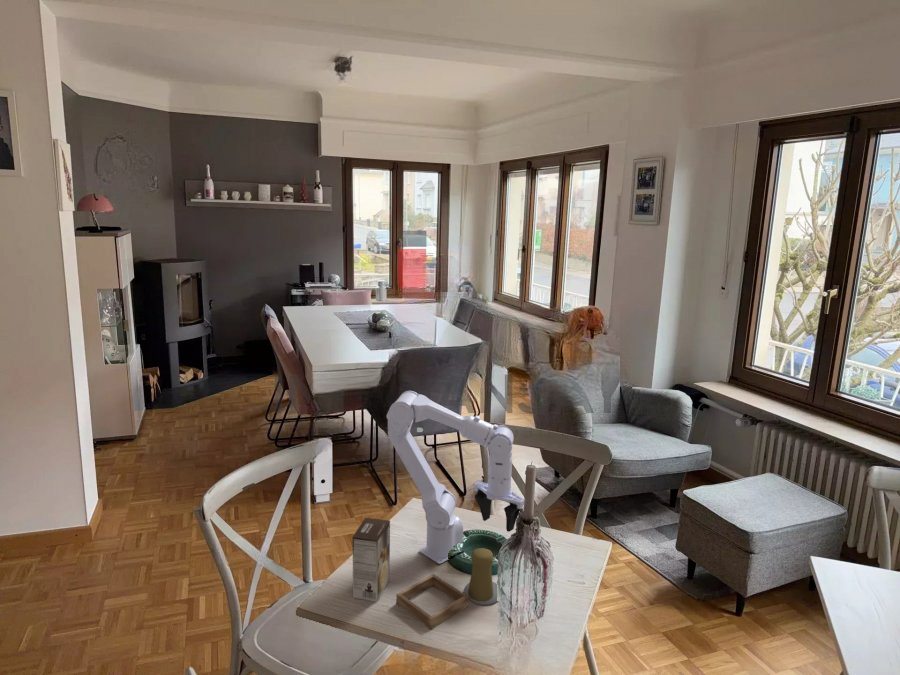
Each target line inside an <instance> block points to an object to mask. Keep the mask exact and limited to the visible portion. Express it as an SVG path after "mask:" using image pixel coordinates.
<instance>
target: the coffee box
mask: <svg viewBox="0 0 900 675" xmlns="http://www.w3.org/2000/svg"><path fill="white" fill-rule="evenodd" d="M390 522H391V520H388V519H379V518H373V517H371V518H370V517H364V519H363V520H362V522H361V524H360V525H359V527H358V528H357V530H356V531H355V532H354V534H353V535H352V598H353V599H359V600H365V601H371V602H379V600H380V599H381V597H382V595H383V593H384V591H385V589H386V587H387V585H388V583H389V581H390V574H391V573H390V572H391V571H390V568H391V567H390V566H391V565H390V562H391V560H390V556H391V555H390V552H391V547H390V545H391V544H390V542H391V538H390V537H391V523H390Z"/></svg>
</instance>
